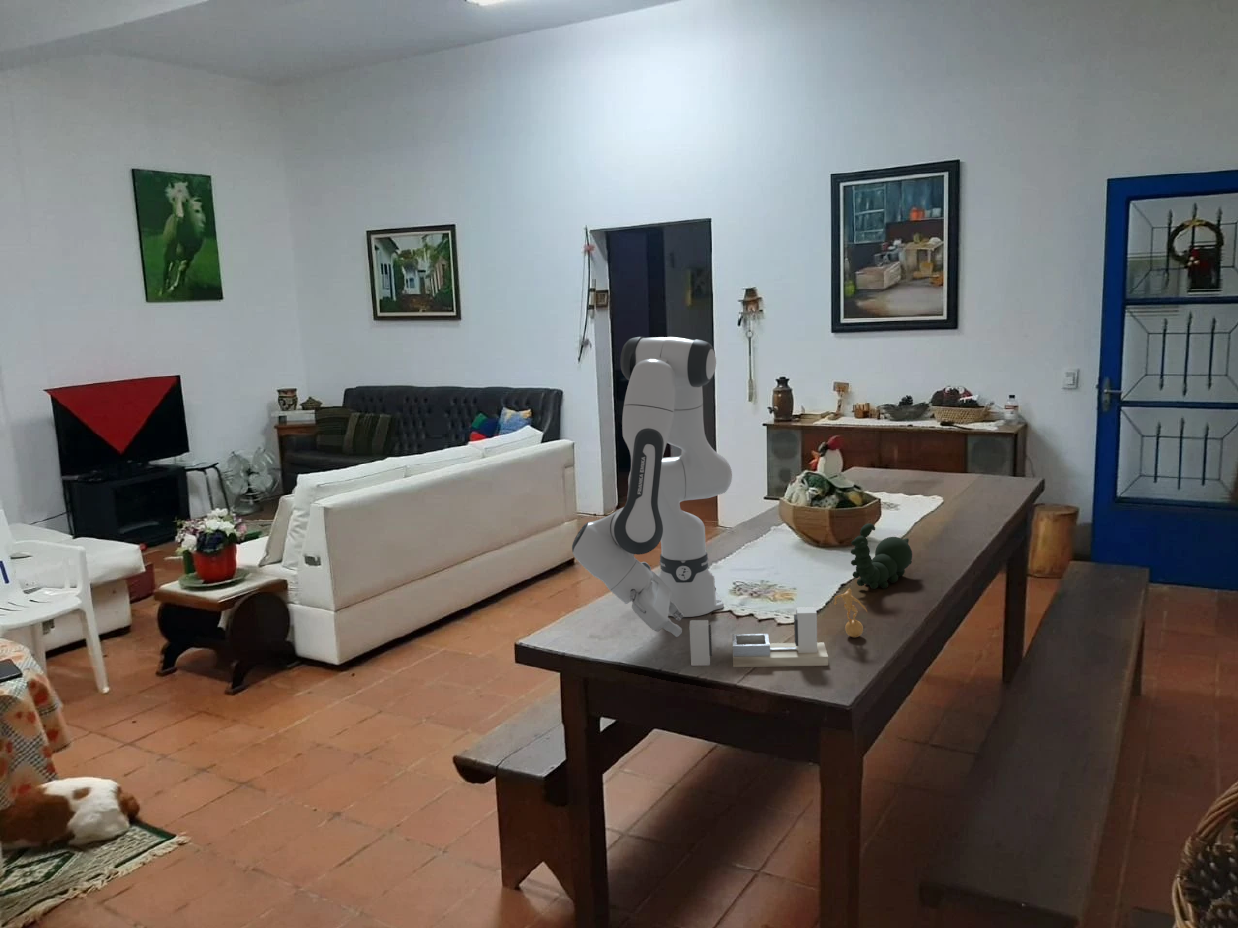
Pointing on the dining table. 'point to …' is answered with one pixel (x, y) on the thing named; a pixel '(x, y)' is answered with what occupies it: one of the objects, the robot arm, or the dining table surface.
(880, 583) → the toy figurine
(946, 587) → the dining table surface
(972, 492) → the dining table surface
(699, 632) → the block
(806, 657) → the rail
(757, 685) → the dining table surface
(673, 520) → the robot arm
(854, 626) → the figurine
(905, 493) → the dining table surface
